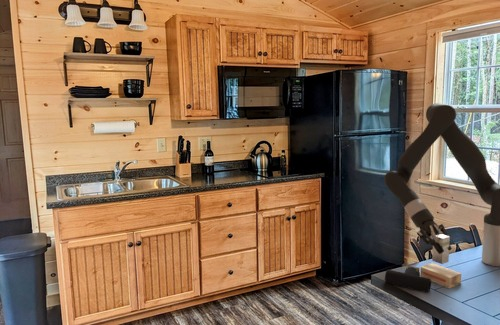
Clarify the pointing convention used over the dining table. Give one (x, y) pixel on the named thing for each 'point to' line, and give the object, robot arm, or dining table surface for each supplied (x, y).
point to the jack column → (444, 243)
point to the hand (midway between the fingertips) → (445, 251)
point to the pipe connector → (408, 279)
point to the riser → (441, 275)
